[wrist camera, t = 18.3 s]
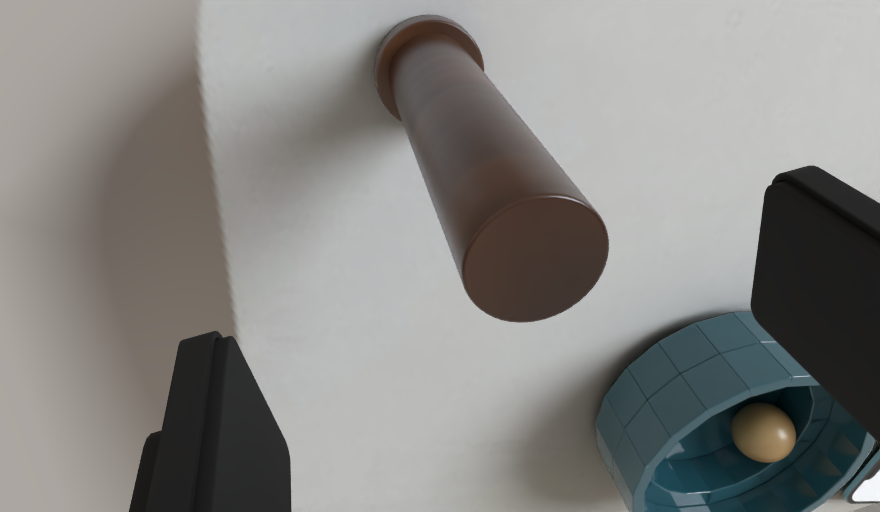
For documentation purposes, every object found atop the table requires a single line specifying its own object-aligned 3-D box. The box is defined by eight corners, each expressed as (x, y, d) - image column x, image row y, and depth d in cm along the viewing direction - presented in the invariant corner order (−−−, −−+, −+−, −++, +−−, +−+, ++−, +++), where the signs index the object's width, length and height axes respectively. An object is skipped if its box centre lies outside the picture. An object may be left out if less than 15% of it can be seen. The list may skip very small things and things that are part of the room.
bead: (708, 426, 34) (744, 475, 32) (743, 389, 32) (784, 437, 30) (744, 427, 35) (781, 474, 33) (779, 391, 34) (821, 437, 32)
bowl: (595, 493, 37) (633, 575, 32) (585, 341, 30) (631, 421, 26) (790, 437, 37) (852, 512, 33) (824, 277, 30) (906, 344, 26)
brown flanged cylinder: (389, 132, 22) (461, 360, 12) (360, 31, 20) (420, 207, 10) (487, 105, 22) (634, 309, 13) (468, 1, 20) (626, 148, 11)
